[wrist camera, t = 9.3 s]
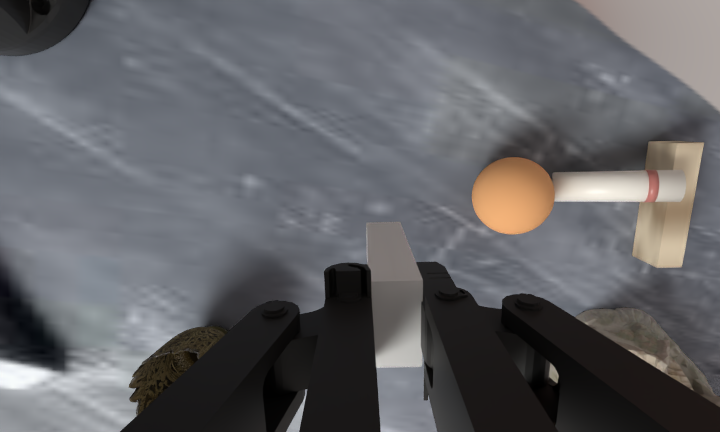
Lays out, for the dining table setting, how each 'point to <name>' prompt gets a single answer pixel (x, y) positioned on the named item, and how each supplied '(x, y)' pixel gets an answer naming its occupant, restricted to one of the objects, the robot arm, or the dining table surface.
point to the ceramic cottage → (646, 345)
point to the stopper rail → (667, 206)
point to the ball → (513, 195)
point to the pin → (620, 186)
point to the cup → (171, 363)
